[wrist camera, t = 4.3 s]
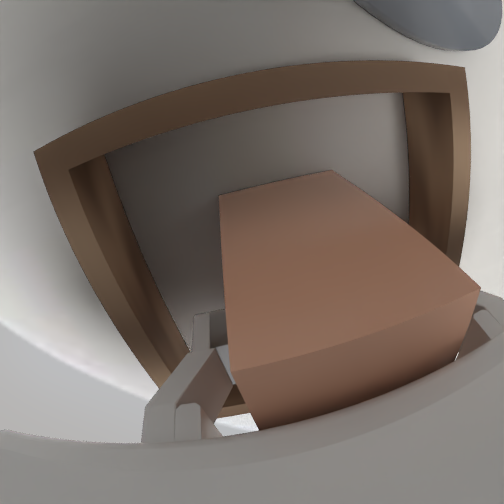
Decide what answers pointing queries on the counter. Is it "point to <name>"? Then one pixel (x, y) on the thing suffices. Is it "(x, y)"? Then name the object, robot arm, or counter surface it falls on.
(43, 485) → the robot arm
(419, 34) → the slate coaster
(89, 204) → the frame
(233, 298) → the terracotta clay block
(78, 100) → the counter surface
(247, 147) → the counter surface
